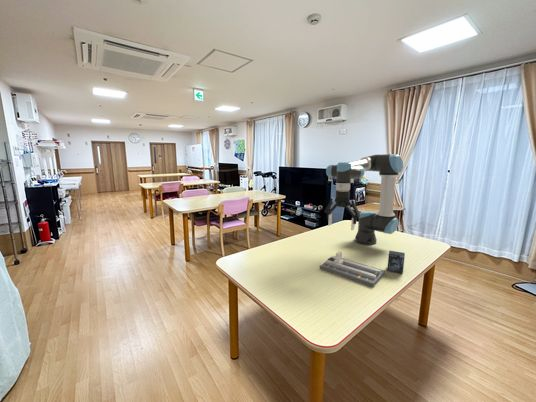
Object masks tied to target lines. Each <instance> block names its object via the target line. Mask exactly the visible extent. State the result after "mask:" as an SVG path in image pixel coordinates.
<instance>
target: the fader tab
mask: <svg viewBox="0 0 536 402" xmlns="http://www.w3.org/2000/svg"><path fill="white" fill-rule="evenodd" d="M335 256H336V260H334V262H336V263H339V264H343V260H342V258H343V251H341V250H340V251H337V252H336V253H335Z"/></svg>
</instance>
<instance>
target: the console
mask: <svg viewBox="0 0 536 402" xmlns="http://www.w3.org/2000/svg"><path fill="white" fill-rule="evenodd" d="M334 260H336V255H333V256H332V255H331V256H330V257H329V258H327V259H326V260H325V262H323V263H322V264H320V265H319V269H320V270H322V271H326V272H328V273H331V274H334V275H336V276H340V277H343V278H345V279H347V280H351V281H355V282H357V283H359V284H363V285H366V286H368V287H371V288H374V287H375V286H376V285H377V284H378V283H379V282H380V280H381V279H382V278H383V277H384V276H385V275H386V270H384V269H381V268H379V267H378V268H377V267H374V266H371V265H367V264H364V263H360V262H357V261H354V260H350V259H348V258H347V259H346V258H343V257H342V260H343V264H339V263H336V262H334Z"/></svg>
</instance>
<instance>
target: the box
mask: <svg viewBox="0 0 536 402" xmlns="http://www.w3.org/2000/svg"><path fill="white" fill-rule="evenodd" d="M405 257H406V255H405V252H402V251H401V252H400V251H396V250H388V260H387V267H386V270H387V272H391V273H392V272H393V273H397V274H401V275H403V274H404V266H405Z"/></svg>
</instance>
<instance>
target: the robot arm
mask: <svg viewBox="0 0 536 402" xmlns="http://www.w3.org/2000/svg"><path fill="white" fill-rule="evenodd" d="M403 167H404V161H403V158H402V156H401V155H399V154H394V153H391V154H373V155H372V154H371V155H368V156H364V157H362V158H360V159H357V160H353V161H349V162H347V161H346V162H337V164H329V165H328V166H327V167H326V169H325V173H326V176H327V177H328V178H336V180H335V181H336V182H335V185H336V186H335V198H334V197H331V198H329V202H328V204H327V206H326V208H325V209H324V213H325V214H327V215H326V216H327V217H326V218H327V220H328V225H327V226H331V225H332V223H333V212H334V211H335V209H336V208H345V209H347V211H348V213H349V214H350V216H351V217H352V218H351V225H350V227H351V228H350V230H351V231H353V230H355V225H356V224H358V226H357V232H356V233H355V236H354V237H355V238H354V241H355V242H356V243H358V244H361V245H365V246H366V245H367V246H368V245H369V246H371V245H376V244H377V241H378V240H377V236H376V232H379V233H383V234H388V235H393V233H395V232H396V231H397V229H398V226H399V219H398V218H397V217H396V214H395V213H394V204H395V189H396V179H397V178H396V177H398V176H399V173H402V170H403ZM366 172H378V175H379V177H380V179H381V181H380V193H379V195H380V196H379V210H378V211H375V210H374V211H373V210H368V211H367V210H366V211H360V212H359V210H358V207H357V204H356V200H355V199H350V197H351V192H350V190H351V180H357V179H361V178H363V177H364V175H365V173H366ZM334 202H335V204H334V205H333V203H334ZM357 219H358V222H357Z"/></svg>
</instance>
